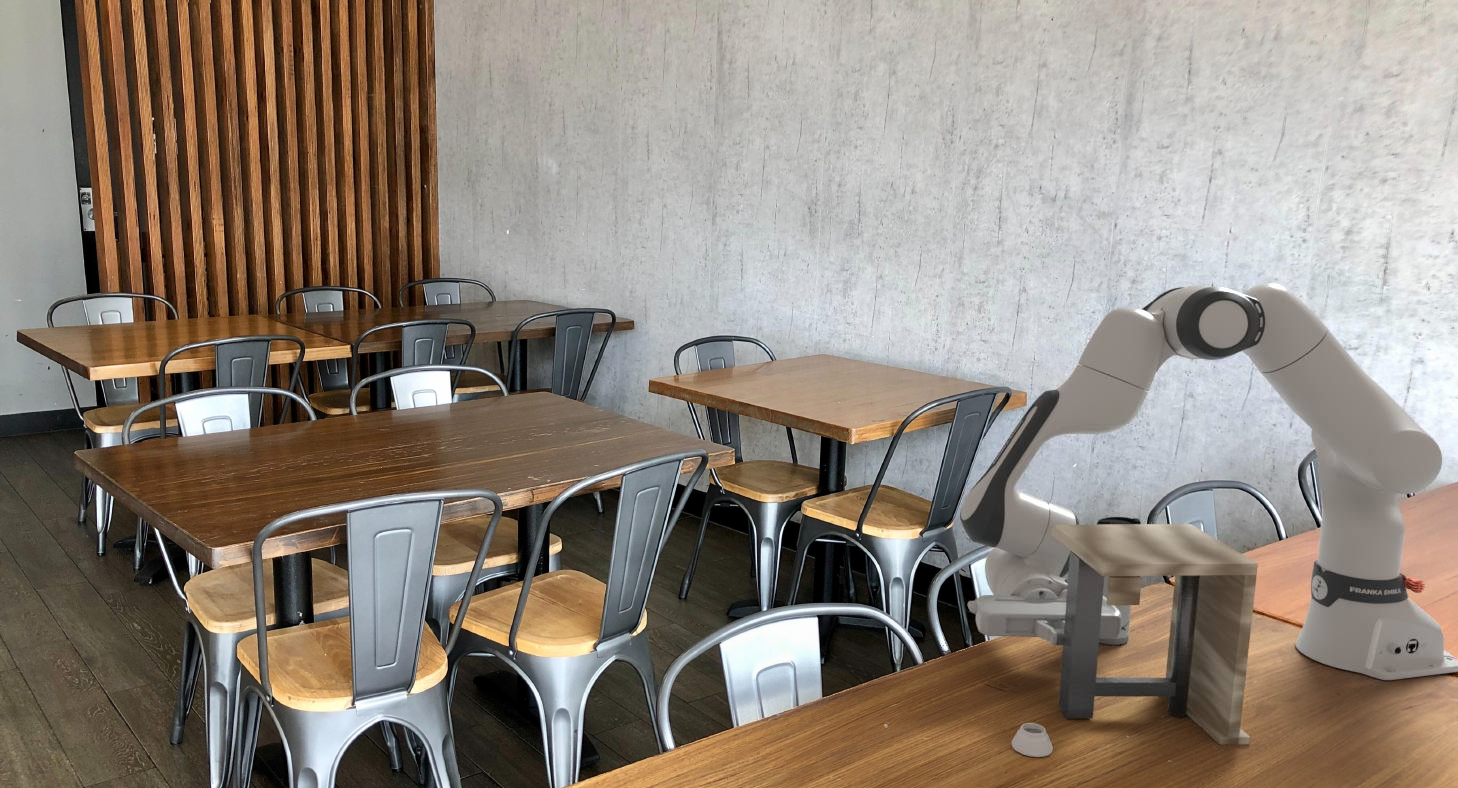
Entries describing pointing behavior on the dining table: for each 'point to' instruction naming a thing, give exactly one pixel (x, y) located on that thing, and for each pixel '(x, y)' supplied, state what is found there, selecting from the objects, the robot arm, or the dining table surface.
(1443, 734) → the dining table surface
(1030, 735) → the white jar
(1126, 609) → the travel mug
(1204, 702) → the side table
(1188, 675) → the frame
